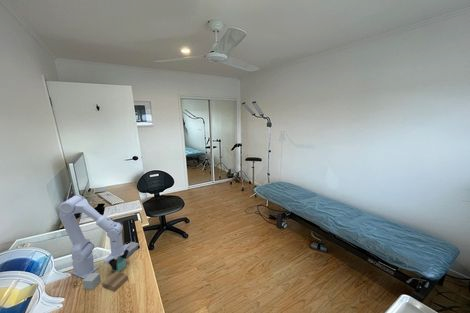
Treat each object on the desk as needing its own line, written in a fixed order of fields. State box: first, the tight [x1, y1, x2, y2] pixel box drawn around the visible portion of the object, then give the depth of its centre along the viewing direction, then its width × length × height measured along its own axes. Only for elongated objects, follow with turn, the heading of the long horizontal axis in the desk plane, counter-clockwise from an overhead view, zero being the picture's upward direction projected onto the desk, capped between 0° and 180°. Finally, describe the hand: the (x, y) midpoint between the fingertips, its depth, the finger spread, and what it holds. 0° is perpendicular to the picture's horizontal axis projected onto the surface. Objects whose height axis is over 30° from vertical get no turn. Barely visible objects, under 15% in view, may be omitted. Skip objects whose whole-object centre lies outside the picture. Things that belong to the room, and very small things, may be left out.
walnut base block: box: [101, 271, 129, 292], centre depth 98 cm, size 8×8×3 cm
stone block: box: [117, 241, 140, 259], centre depth 121 cm, size 12×5×10 cm
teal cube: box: [111, 257, 127, 272], centre depth 107 cm, size 5×5×5 cm
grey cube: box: [82, 272, 102, 290], centre depth 96 cm, size 5×5×5 cm
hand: (119, 266), depth 108 cm, fingers closed on teal cube, 5 cm apart
